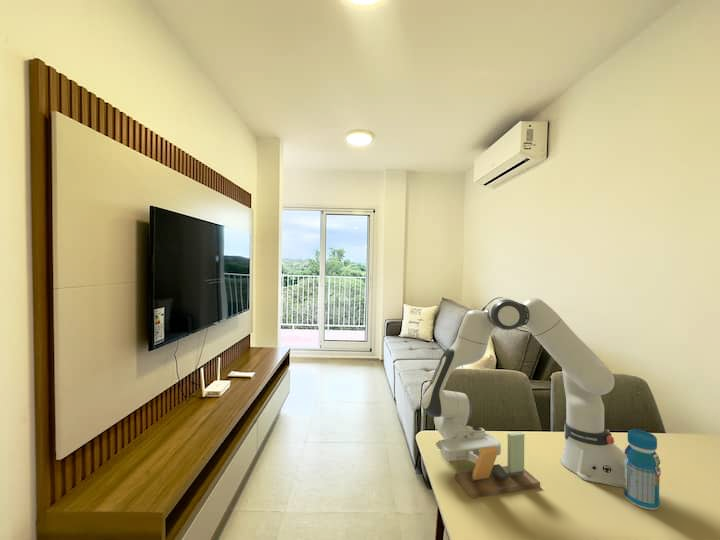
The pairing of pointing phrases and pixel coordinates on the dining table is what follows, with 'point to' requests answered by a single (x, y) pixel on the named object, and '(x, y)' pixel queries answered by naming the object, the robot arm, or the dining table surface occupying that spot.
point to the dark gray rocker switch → (499, 472)
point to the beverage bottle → (642, 470)
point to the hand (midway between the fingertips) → (482, 461)
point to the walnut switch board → (496, 483)
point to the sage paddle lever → (515, 453)
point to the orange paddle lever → (484, 463)
